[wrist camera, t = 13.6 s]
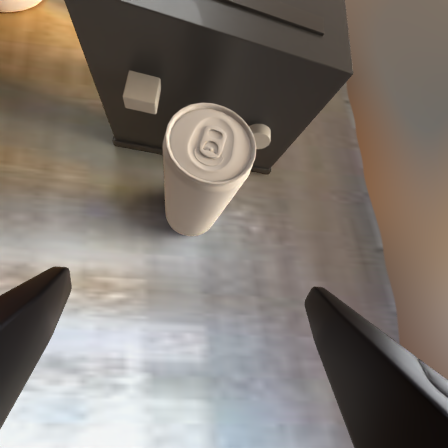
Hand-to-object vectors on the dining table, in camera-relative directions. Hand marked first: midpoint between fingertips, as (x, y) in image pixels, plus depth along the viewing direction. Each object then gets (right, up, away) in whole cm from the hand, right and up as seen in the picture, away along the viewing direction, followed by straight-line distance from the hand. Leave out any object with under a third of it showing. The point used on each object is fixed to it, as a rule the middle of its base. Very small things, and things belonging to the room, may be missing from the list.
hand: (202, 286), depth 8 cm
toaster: (-2, +14, +17) cm, 22 cm away
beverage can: (-3, +3, +14) cm, 15 cm away
